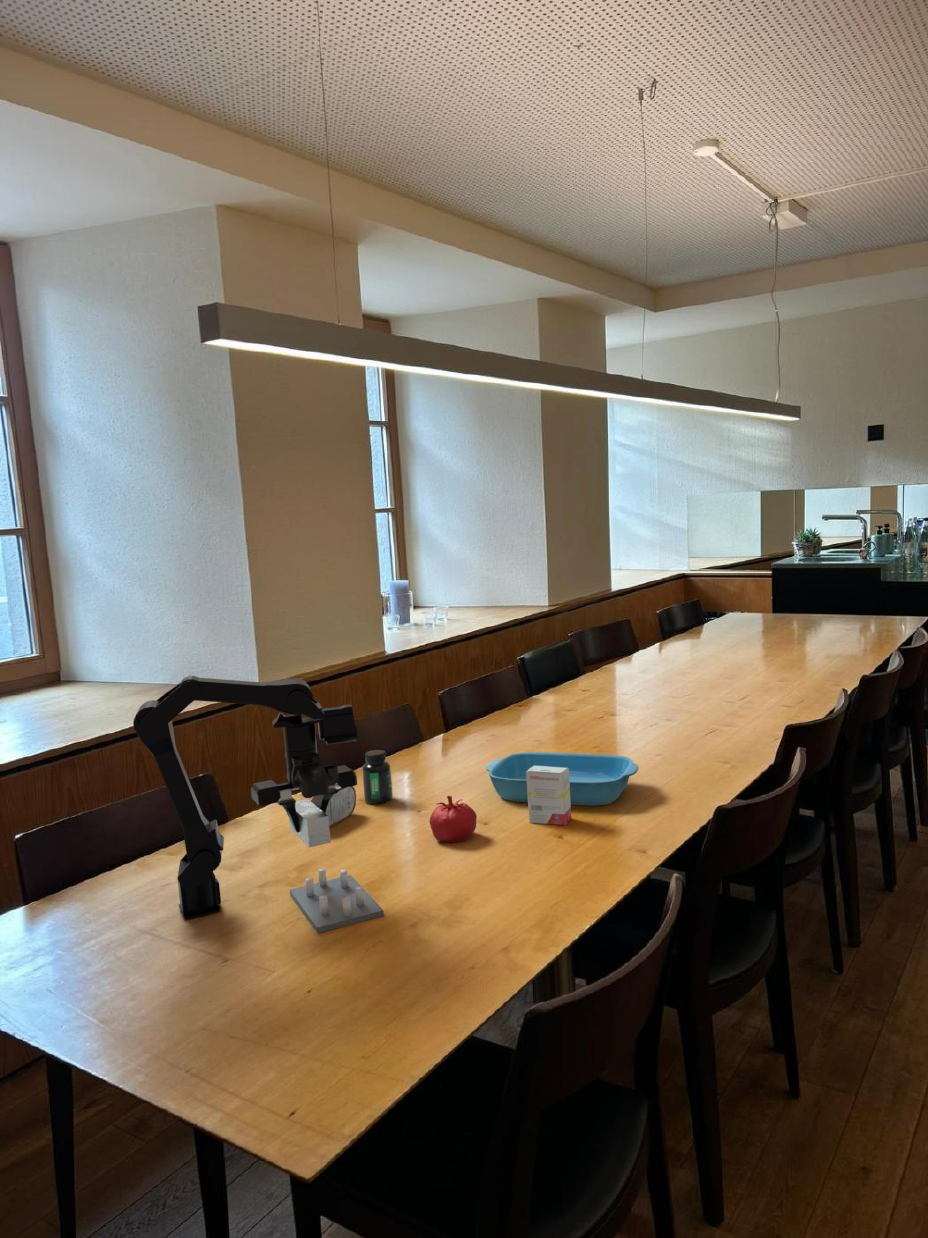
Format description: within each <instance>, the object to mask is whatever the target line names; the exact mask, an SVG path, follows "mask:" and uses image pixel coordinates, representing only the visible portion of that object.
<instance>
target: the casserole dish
mask: <svg viewBox="0 0 928 1238" xmlns="http://www.w3.org/2000/svg"><path fill="white" fill-rule="evenodd" d="M533 766H548V767H562V768H569V782H570V802H571V806H593V807H595V806H605V805H610V804H612V803H613V802H615V801H616V800H617V799H618V798H619V797H620V796H621V794H622V793H623V791H624V790H625V789H626V787H627V785H628V783H629V779H630V777H631V776H634V775H635V774H636V773H637V772H638V771H639V765H638V764H636V763H635V762H633V759H632V758H630V757H628V756H623V755H617V754H599V753H597V754H595V753H594V754H593V753H573V752H571V753H569V752H568V753H567V752H547V751H546V752H541V751H526V752H517V753H512V754H509V755H507V756H505V757H502V758H498V759H495V760H492V761H491V762H490V763H488V764H487V765H486V766H485V770H486V771H487V772H488V776H489V778H490V780H491V783H492V785H493V787H494V790H495V792H496V793H497V794H498V795H499V797H501V798H503V799H505V800H507V801H511V802H512V801H513V802H520V803H528V794H527V778H526V771H528V770H529V769H530V768H531V767H533Z"/></svg>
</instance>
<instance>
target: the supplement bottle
mask: <svg viewBox="0 0 928 1238" xmlns="http://www.w3.org/2000/svg"><path fill="white" fill-rule="evenodd" d="M364 755H365V758H364V759H365V763H364V764H363V766H362V769H361V770H362V771H361V772H362V773H361V774H362V781H363V782H362V783H363V784H362V785H363V796H364V802H365V803H366V804H367V805H376V806H377V805H383V804H387V803H390V802H391V801H392V800H393V798H394V797H393V796H394V795H393V784H392V780H393V779H392V769H391V764H390V763H389V762H388V761H386V760H387V758H386V751H385V750H381V749H375V750H369V751H366V752H365V754H364Z"/></svg>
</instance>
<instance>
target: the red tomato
mask: <svg viewBox="0 0 928 1238" xmlns="http://www.w3.org/2000/svg"><path fill="white" fill-rule="evenodd" d="M446 798H447V804H446V803H445V802H444V801H443V802H438V803H437V802H435V804H436V805H438V806H436V807H435V809H434V810H433V811H432V813H431V815H430V816H429V825H430V829H431V831H432V835H433V837H434V838H435V840H437V841H438V842H440V843H455V842H457V843H458V842H464V841H466V840H468V839H469V838H470V837H471V836H473V834H474V833H475V831H476V827H477V817H478V816H477V813H476V811H475V810H474V809H473V808H472V807H471V806H470V805H469V804H467V803H466V802H465V803H464V802H461V803H459V802H460V801H462V799H458V800H457V801H456V802H454V803H453V796H452V795H446Z"/></svg>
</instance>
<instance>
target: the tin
mask: <svg viewBox="0 0 928 1238" xmlns="http://www.w3.org/2000/svg"><path fill="white" fill-rule="evenodd" d="M336 789H338V790H339V792H338V793H337V794H334V795H333V796H332V797H331V799H330V801H329V803H328V806H327V809H326V813H325V814H327V815H328V819H329V829H330V828H331V827H333V826H336V825H338V824H339V823H341V822H343V821H345V820H347V819H348V818H350V817H351V815H352V814H353V813H354V811H355V809H356V806H357V793H356V789H355V786H351V787H347V788H341V787H340V786H339V785H337V783H336ZM310 801H311V802H312V803H313V804H315V805H316V800H315V796H313V797H312V798H311V800H310Z"/></svg>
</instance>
